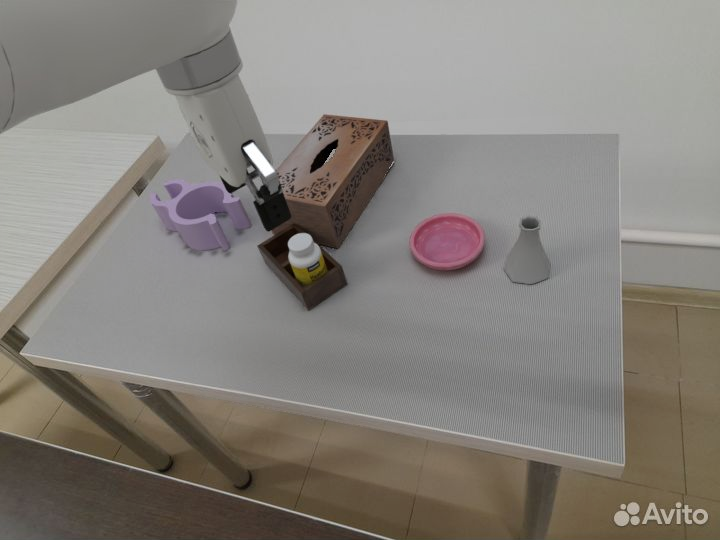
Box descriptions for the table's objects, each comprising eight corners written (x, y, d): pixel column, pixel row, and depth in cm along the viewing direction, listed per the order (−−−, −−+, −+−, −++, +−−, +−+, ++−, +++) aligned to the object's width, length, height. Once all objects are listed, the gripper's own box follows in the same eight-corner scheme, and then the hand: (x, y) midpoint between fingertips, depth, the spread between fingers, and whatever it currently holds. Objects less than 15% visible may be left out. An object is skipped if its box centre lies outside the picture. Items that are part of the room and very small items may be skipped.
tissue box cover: (334, 154, 115) (324, 114, 107) (394, 162, 109) (387, 120, 101) (273, 233, 100) (256, 193, 93) (337, 248, 94) (325, 206, 87)
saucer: (456, 289, 83) (455, 276, 81) (397, 258, 90) (394, 245, 88) (499, 242, 88) (499, 228, 86) (440, 216, 95) (439, 203, 93)
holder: (308, 311, 86) (301, 293, 83) (265, 263, 96) (257, 245, 93) (347, 284, 89) (342, 266, 85) (301, 240, 98) (294, 222, 95)
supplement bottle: (318, 298, 87) (302, 258, 80) (293, 287, 89) (275, 248, 82) (336, 275, 89) (322, 234, 82) (311, 266, 92) (296, 225, 85)
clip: (151, 232, 108) (134, 207, 103) (192, 195, 115) (178, 170, 110) (219, 259, 99) (204, 233, 94) (260, 217, 105) (248, 190, 100)
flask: (555, 282, 81) (562, 236, 73) (507, 287, 82) (509, 243, 74) (545, 249, 86) (550, 203, 78) (500, 254, 87) (500, 209, 79)
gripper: (131, 53, 52) (200, 189, 64) (197, 108, 41) (265, 259, 53) (198, 24, 54) (252, 160, 66) (277, 68, 43) (325, 222, 55)
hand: (258, 204), depth 60 cm, fingers open, 9 cm apart
